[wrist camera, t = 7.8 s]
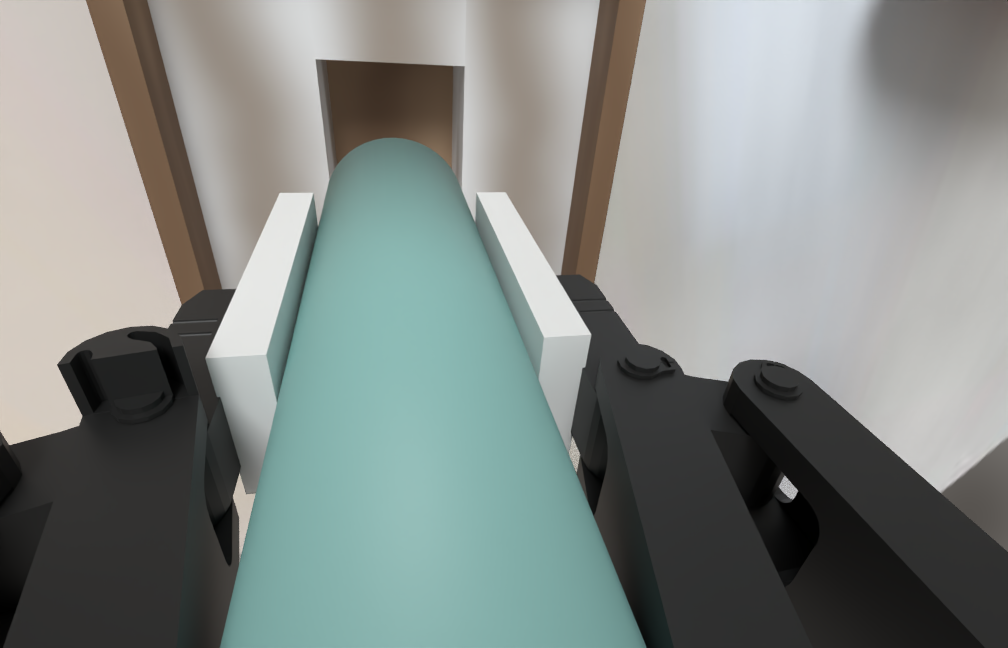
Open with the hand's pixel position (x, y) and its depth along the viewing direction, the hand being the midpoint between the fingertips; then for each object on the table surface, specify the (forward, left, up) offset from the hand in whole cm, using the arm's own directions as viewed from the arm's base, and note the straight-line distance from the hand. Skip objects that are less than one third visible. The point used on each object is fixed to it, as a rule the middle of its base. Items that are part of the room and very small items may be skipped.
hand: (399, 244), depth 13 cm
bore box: (0, 0, -15) cm, 15 cm away
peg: (0, 0, -3) cm, 3 cm away
